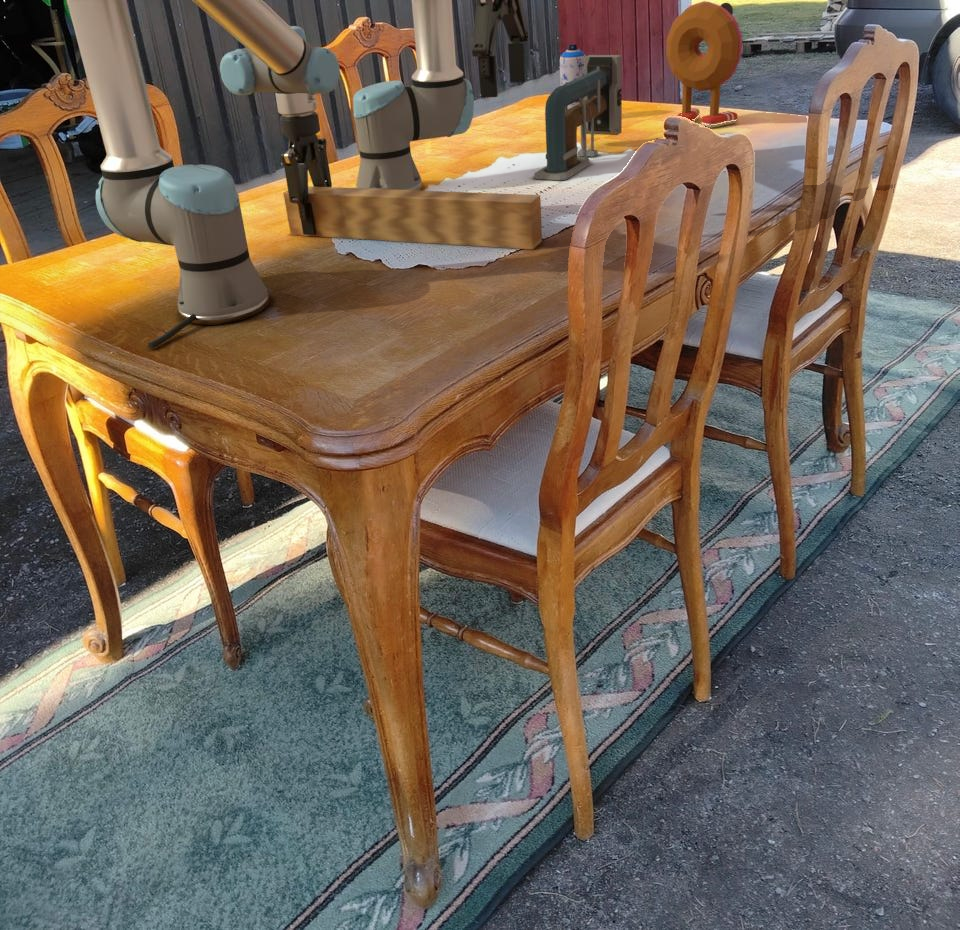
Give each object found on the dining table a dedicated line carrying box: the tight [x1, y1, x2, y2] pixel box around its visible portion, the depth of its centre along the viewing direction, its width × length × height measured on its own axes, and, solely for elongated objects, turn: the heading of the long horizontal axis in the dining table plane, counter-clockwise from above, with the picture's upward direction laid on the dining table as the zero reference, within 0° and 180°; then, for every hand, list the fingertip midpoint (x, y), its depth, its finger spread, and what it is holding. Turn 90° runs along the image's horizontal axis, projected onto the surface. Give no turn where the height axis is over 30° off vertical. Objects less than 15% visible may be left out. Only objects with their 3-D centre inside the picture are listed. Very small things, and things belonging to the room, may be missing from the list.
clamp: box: [532, 54, 623, 181], centre depth 230 cm, size 35×9×21 cm, turn 151°
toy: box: [665, 0, 743, 129], centre depth 253 cm, size 21×10×30 cm, turn 47°
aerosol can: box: [559, 43, 587, 109], centre depth 273 cm, size 8×8×20 cm
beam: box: [282, 185, 543, 250], centre depth 191 cm, size 54×5×9 cm, turn 67°
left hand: (317, 229), depth 201 cm, fingers closed on beam, 5 cm apart
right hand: (504, 89), depth 171 cm, fingers open, 13 cm apart
